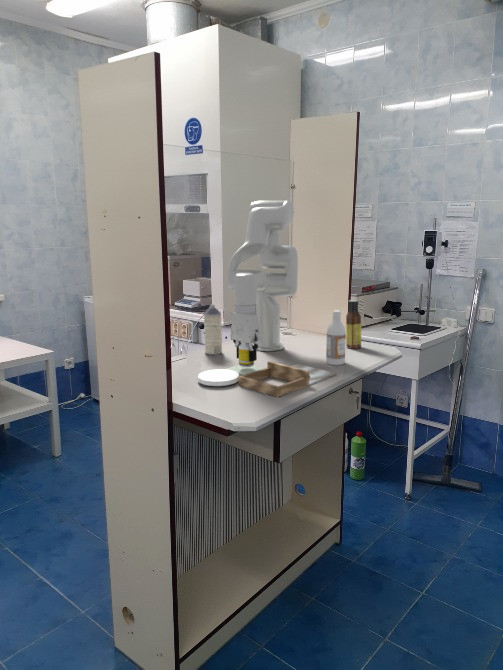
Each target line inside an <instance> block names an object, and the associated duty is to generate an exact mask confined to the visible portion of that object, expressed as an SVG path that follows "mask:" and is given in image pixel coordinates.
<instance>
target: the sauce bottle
mask: <svg viewBox="0 0 503 670" xmlns="http://www.w3.org/2000/svg"><path fill="white" fill-rule="evenodd" d="M347 303H348V312H347V314H346V317H345V318H346V319H345V332H346V340H345V346H346V347H347V349H351V350H352V349H353V350H354V349H356V350H357V349H360V348H361V347H362V316H361V314H360V311H359V300H357V299H349V300H348V302H347Z"/></svg>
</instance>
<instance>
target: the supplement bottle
mask: <svg viewBox="0 0 503 670" xmlns="http://www.w3.org/2000/svg"><path fill="white" fill-rule="evenodd" d="M249 351H250V347H249V343H245V342H241V344H240V345H239V359H238V365H239V366H240V367H252V366H255V361H252V362H250V361H249Z"/></svg>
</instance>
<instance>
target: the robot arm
mask: <svg viewBox="0 0 503 670" xmlns="http://www.w3.org/2000/svg"><path fill="white" fill-rule="evenodd" d="M248 209H249V214H248V219H247V225H246V232H245V233H246V234H245V238H244V243H243V244H242V245H241V246H240V247H239V248H238V249H236V250H235V252H234V253H233V255H232V256H231V258H230V260H229V262H228V269H227V275H226V285H227V287H228V289H229V290H230V291H233V292H234V305H233V308H234V312H233V314H232V319H231V334H230V338H231V340H232V342H233V343H234V347H235V348H236V359H238V360H239V345H240V344H241V342H245V343H249V347H250V351H249V361H250V362H252V361H254V362H255V361H257V351H260V352H277V351H280V350H283V349H284V344H283V343H282V342H281V326H280V325H281V319H280V318H281V315H280V313H281V310H280V309H281V308H280V304H279V302H278V300H277V299H276V298H275V297H293V296H295V295H296V293H297V290H298V275H299V274H298V271H299V270H298V268H299V267H298V266H299V265H298V264H299V263H298V262H299V260H298V259H299V258H298V257H299V256H298V251H297V249H296V248H295V246H293V245H286V244H285V245H284V244H283V245H280V232H279V231H282V230H285V229H287V227H288V226H289V225H290V223H291V222H292V221H293V218H294V212H295V211H294V210H295V208H294V205H293V203H292V202H291V201H290V200H285V199H283V200H273V199H272V200H271V199H270V200H256V201H252V202H251V204H249V208H248ZM255 256H258V257H257V261H258V266H259V267H261V269H265V270H267V269H268V270H269V269H270V270H284V271H285V272H275V271H273V272H272V271H269V272H267V271H263V270H258V269H239V267H240V266H241V265H242V264H243V263H244V262H245V261H247V260H249V259H250V258H253V257H255Z"/></svg>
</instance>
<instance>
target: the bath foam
mask: <svg viewBox="0 0 503 670" xmlns="http://www.w3.org/2000/svg"><path fill="white" fill-rule="evenodd" d="M341 316H342V311H341V310H338V309H335V310H332V320H331V322H330V324H329V325H328V327H327V330H326V349H325V350H326V351H325V353H326V354H325V362H326V364H328V365H330V366H342V365H344V364H345V361H346V327H345V325H344V324H343V322H342V321H341V319H342V317H341Z"/></svg>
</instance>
